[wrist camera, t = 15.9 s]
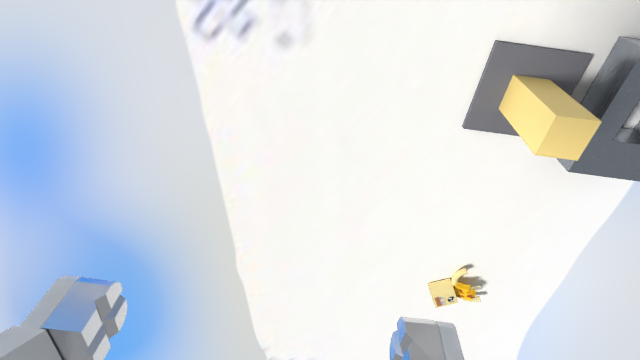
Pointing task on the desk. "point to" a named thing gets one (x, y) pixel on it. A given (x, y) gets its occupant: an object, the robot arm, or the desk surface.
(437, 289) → the character toy
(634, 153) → the grey block with hole
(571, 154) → the square block
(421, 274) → the desk surface
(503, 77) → the rubber mat
